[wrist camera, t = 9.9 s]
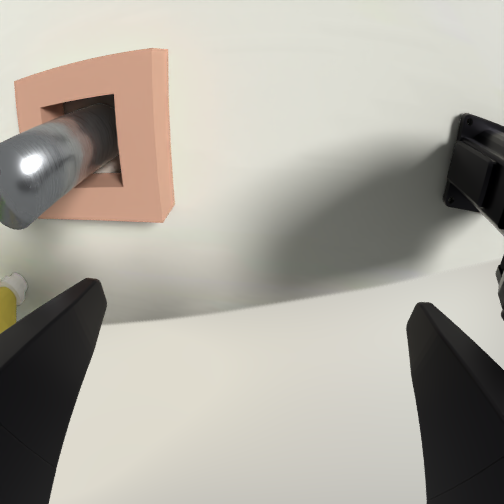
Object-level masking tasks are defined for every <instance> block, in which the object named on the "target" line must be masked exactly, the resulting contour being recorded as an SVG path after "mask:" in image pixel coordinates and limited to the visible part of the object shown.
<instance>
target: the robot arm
mask: <svg viewBox="0 0 504 504" xmlns="http://www.w3.org/2000/svg"><path fill="white" fill-rule="evenodd" d="M468 118H469V119H470V122H469V124H467V119H468ZM450 197H452V199H451V200H450V201H448V200H449V198H450ZM443 202H444V203H445V204H446V205H447V206H448V207H452V208H458V209H464V210H470V211H475V212H481V213H482V214H483V215H484V216H485V217H486V218H487V219H488V220H489V221H490V222H491V223H492V224H493V225H494V226H495V227H496V228H497V230H498V231H499V232H500V233H501V234H502V235H503V236H504V126H501V125H499V124H496V123H494V122H491V121H488V120H486V119H483V118H480V117H477V116H475V115H472V114H469V113H465V114H463V115H462V116H461V120H460V126H459V131H458V136H457V142H456V143H455V146H454V151H453V156H452V160H451V164H450V169H449V173H448V181H447V185H446V188H445V192H444V196H443ZM496 277H497V280H498V284H499V290H498V296H499V299H500V303H501V306H502V309H503V310H502V312H501V317H502V318H503V320H504V256H503V258H502V261H501V264H500V265H499V266H498V268H497V271H496ZM106 307H107V301H106V298H105V295H104V291H103V288H102V285H101V282H100V281H99V280H98V279H93V278H85V279H84V280H82V281H80V282H79V283H77V284H75V285H74V286H72V287H71V288H69V289H67V290H66V291H64V292H63V293H61V294H59V295H58V296H56V297H55V298H53V299H52V300H50V301H48V302H47V303H45V304H44V305H42V306H41V307H39V308H38V309H36V310H35V311H33V312H32V313H30V314H28V315H27V316H25V317H24V318H22V319H21V320H19V321H18V322H17V323H15V324H14V325H12V326H11V327H9V328H8V329H6V330H5V331H3V332H2V333H0V504H49V499H50V494H51V490H52V485H53V481H54V477H55V473H56V467H57V464H58V460H59V456H60V453H61V449H62V445H63V442H64V438H65V435H66V432H67V428H68V425H69V422H70V418H71V415H72V412H73V409H74V406H75V403H76V399H77V397H78V394H79V391H80V388H81V385H82V382H83V380H84V377H85V374H86V371H87V368H88V365H89V363H90V360H91V358H92V355H93V352H94V349H95V345H96V342H97V338H98V335H99V331H100V328H101V324H102V321H103V318H104V314H105V311H106ZM406 331H407V339H408V347H409V357H410V368H411V376H412V382H413V388H414V393H415V398H416V405H417V411H418V417H419V424H420V432H421V440H422V448H423V457H424V467H425V479H426V495H427V504H504V370H503V369H502V368H501V367H500V366H499V365H498V364H497V363H496V362H495V361H494V360H493V359H492V358H491V357H490V356H489V355H488V354H487V353H485V352H484V351H483V350H482V349H481V348H480V347H479V346H478V345H477V344H476V343H475V342H474V341H473V340H472V339H470V337H469V336H467V335H466V334H465V333H464V332H463V331H462V330H461V329H460V328H459V327H458V326H456V325H455V324H454V323H453V322H452V321H451V320H450V319H449V318H448V317H446V316H445V315H444V314H443V313H442V312H441V311H440V310H439V309H437V308H436V307H435V306H434V305H433V304H432V303H429V302H419V303H417V304H416V306H415V308H414V310H413V312H412V314H411V316H410V318H409V320H408V323H407V328H406Z"/></svg>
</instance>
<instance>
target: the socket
mask: <svg viewBox="0 0 504 504" xmlns="http://www.w3.org/2000/svg"><path fill="white" fill-rule="evenodd" d="M14 86H15V98H16V108H17V116H18V124H19V131H20V133H22V132H24V131H27V130H29V129H31V128H33V127H36V126H38V125H40V124H43V123H45V122H48V121H50V120H53V119H55V118H58V117H60V116H63V115H64V108H63V102H68V101H73V100H78V99H84V98H90V97H96V96H102V95H109V94H114V101H115V115H116V127H117V138H118V147H119V156H120V165H121V172H122V173H96V174H91V175H90V176H88V177H87V178H86V179H84V180H83V181H82V182H80V183H79V184H78V185H77V186H75V187H74V188H73V189H71V190H70V191H69V192H68V193H66V194H65V195H64V196H63V197H61V198H60V199H59V200H58V201H57V202H55V203H54V204H53V205H52V206H51V207H49V208H48V209H47V210H46V211H45V212H44V213H42V214H41V215H40V216H39V217H38V219H77V220H108V221H133V222H156V223H163V222H164V220H165V219H166V217H167V216H168V214H169V213H170V211H171V209H172V208H173V206H174V205H175V201H174V190H173V177H172V162H171V146H170V126H169V98H168V49H157V48H149V49H142V50H135V51H129V52H123V53H117V54H111V55H106V56H101V57H97V58H92V59H88V60H83V61H79V62H75V63H71V64H68V65H64V66H60V67H57V68H53V69H50V70H46V71H43V72H40V73H37V74H34V75H31V76H28V77H25V78H22V79H19V80H17V81H14Z"/></svg>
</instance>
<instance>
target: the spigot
mask: <svg viewBox="0 0 504 504" xmlns="http://www.w3.org/2000/svg"><path fill="white" fill-rule="evenodd" d="M118 154H119V147H118V138H117V127H116V115H115V109H114V108H113V107H111V106H109V105H106V104H94V105H91V106H88V107H85V108H82V109H79V110H76V111H74V112H71V113H68V114H66V115H63V116H60V117H58V118H55V119H53V120H50V121H48V122H45V123H43V124H40V125H38V126H36V127H33V128H31V129H29V130H27V131H24V132H22V133H20V134H18V135H16V136H14V137H12V138H10V139H7V140H5V141H3V142H1V143H0V222H1V223H2V224H4V225H5V226H7V227H9V228H12V229H17V230H19V229H24V228H26V227H28V226H29V225H30V224H31V223H32V222H33V221H34V220H36V219H37V218H38V217H39V216H40V215H41V214H42V213H44V212H45V211H46V210H47V209H48V208H49V207H51V206H52V205H53V204H54V203H55V202H57V201H58V200H59V199H60V198H61V197H63V196H64V195H65V194H66V193H68V192H69V191H70V190H71V189H73V188H74V187H75V186H77V185H78V184H79V183H80V182H82V181H83V180H84V179H86V178H87V177H88V176H90V175H91V174H92V173H94V172H95V171H96V170H98V169H99V168H101V167H102V166H103V165H105V164H106V163H108V162H109V161H110V160H112V159H113V158H115V157H116V156H117V155H118Z"/></svg>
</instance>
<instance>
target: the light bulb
mask: <svg viewBox="0 0 504 504" xmlns="http://www.w3.org/2000/svg"><path fill="white" fill-rule="evenodd" d="M27 288H28V285H27V282H26V281H25V279H24V278H23V277H22V276H21V275H20V274H18V273H13V274H12V275H11V276H5V277H4V278H3V280H2V281H1V282H0V333H2V332H3V331H5V330H6V329H8V328H9V327H11V326H12V325H14V324H15V323H16V306H19V305H20V304H21V303H22V302H23V300H24V299H25V291H26V290H27Z"/></svg>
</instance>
